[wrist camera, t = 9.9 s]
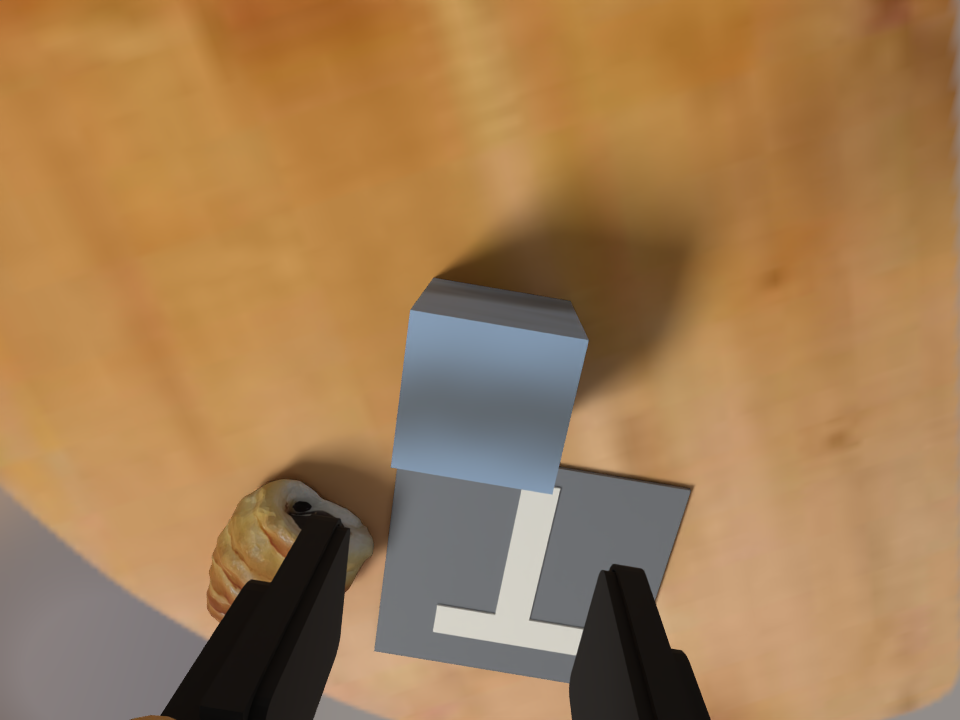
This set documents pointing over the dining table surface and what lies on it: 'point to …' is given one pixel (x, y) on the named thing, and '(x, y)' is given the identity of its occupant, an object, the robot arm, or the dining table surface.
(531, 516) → the board
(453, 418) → the slate blue cube
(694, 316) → the dining table surface
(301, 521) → the pastry
